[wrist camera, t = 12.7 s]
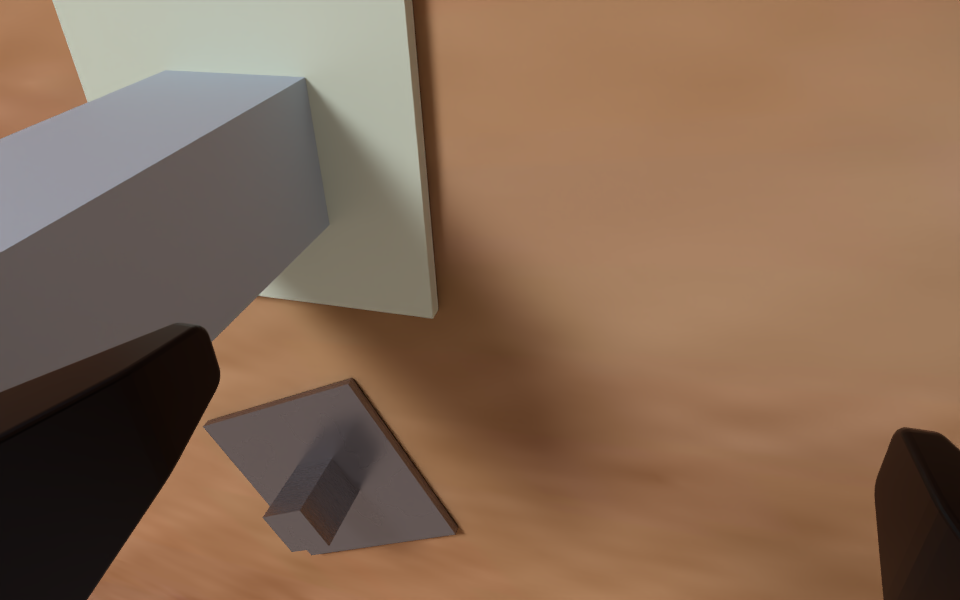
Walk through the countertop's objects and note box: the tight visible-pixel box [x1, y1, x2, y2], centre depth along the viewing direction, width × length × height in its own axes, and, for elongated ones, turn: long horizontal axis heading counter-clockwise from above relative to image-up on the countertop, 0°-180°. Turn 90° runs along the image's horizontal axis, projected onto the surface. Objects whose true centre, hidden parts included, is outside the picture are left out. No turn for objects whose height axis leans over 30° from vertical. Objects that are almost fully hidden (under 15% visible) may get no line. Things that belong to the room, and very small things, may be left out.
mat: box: [53, 0, 438, 319], centre depth 23 cm, size 12×12×1 cm
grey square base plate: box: [203, 378, 458, 555], centre depth 31 cm, size 9×9×3 cm
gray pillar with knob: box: [0, 70, 330, 392], centre depth 18 cm, size 5×5×14 cm
